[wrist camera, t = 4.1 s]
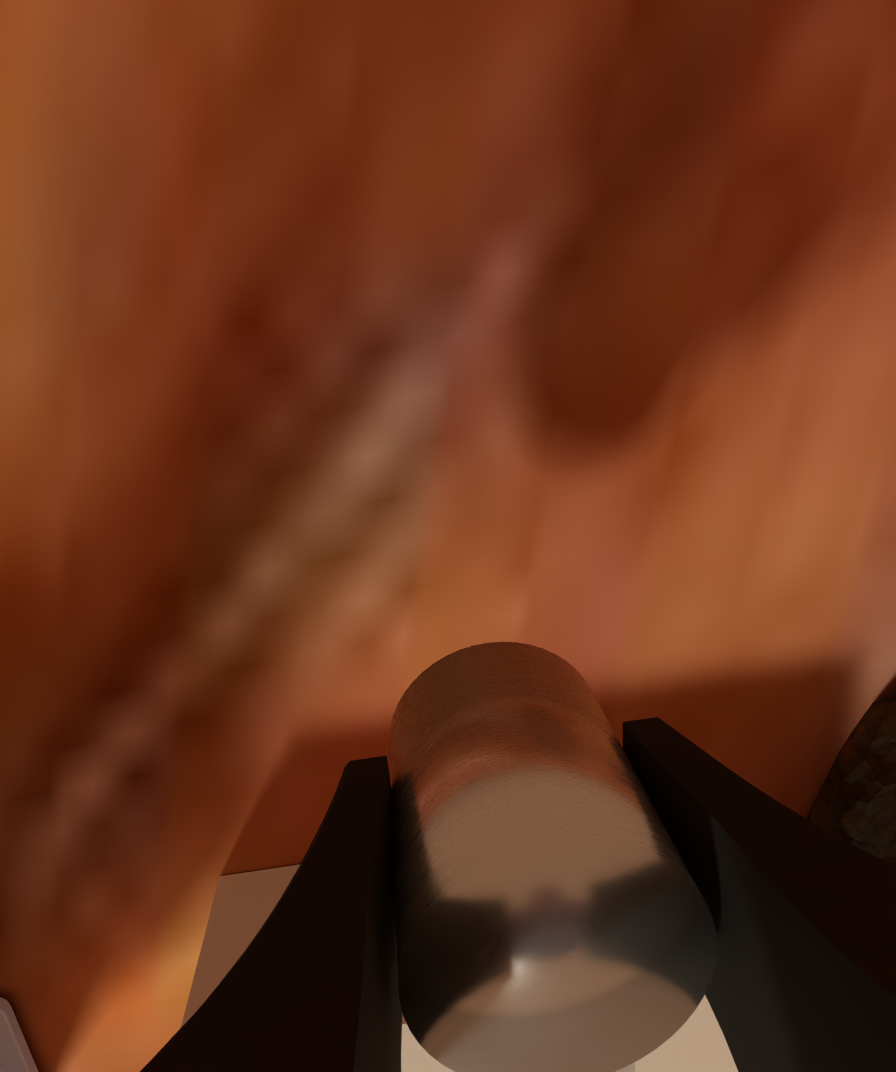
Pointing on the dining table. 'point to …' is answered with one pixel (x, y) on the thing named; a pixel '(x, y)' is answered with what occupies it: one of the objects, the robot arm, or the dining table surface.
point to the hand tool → (864, 786)
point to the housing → (243, 907)
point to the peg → (534, 875)
